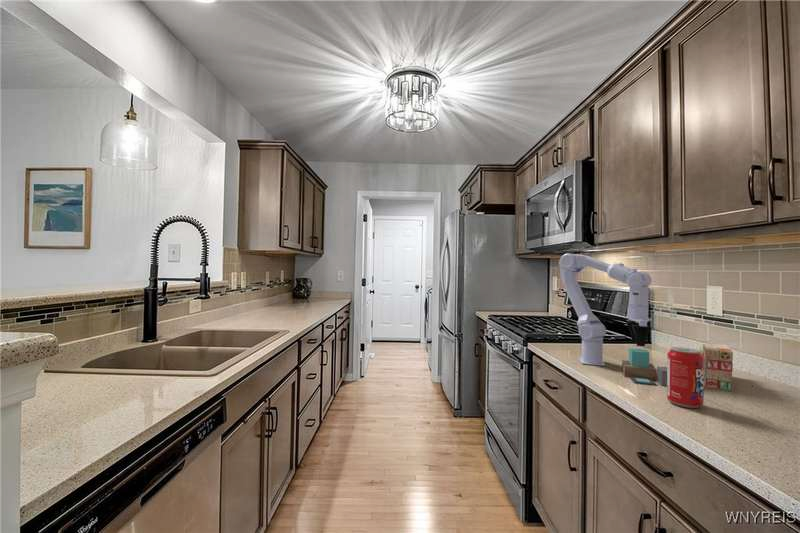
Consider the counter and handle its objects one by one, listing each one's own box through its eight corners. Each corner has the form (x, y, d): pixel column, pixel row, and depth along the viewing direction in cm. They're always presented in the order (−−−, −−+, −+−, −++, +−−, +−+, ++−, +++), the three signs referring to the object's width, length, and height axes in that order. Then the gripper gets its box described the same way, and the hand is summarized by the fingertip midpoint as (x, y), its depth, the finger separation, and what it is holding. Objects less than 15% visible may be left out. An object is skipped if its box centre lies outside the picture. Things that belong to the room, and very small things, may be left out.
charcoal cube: (657, 381, 119) (657, 366, 119) (675, 383, 117) (675, 368, 117) (661, 386, 114) (661, 370, 114) (680, 388, 112) (681, 372, 112)
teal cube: (628, 362, 129) (629, 348, 129) (645, 364, 127) (645, 349, 127) (631, 365, 124) (632, 351, 124) (649, 367, 122) (649, 352, 122)
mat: (630, 378, 122) (630, 376, 122) (651, 380, 120) (651, 378, 120) (634, 383, 117) (634, 381, 117) (656, 385, 114) (656, 384, 114)
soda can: (660, 398, 102) (660, 346, 103) (687, 399, 102) (688, 346, 103) (681, 409, 95) (682, 352, 95) (711, 410, 95) (712, 352, 95)
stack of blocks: (699, 372, 131) (699, 338, 131) (722, 375, 127) (723, 340, 127) (705, 387, 113) (706, 348, 113) (732, 392, 110) (733, 351, 110)
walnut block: (622, 371, 132) (622, 360, 132) (651, 374, 128) (651, 363, 128) (624, 377, 124) (624, 366, 124) (656, 381, 120) (656, 369, 120)
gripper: (657, 308, 120) (657, 349, 120) (646, 304, 133) (646, 341, 133) (633, 307, 123) (632, 347, 123) (624, 303, 136) (624, 339, 136)
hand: (638, 343), depth 128 cm, fingers open, 7 cm apart
